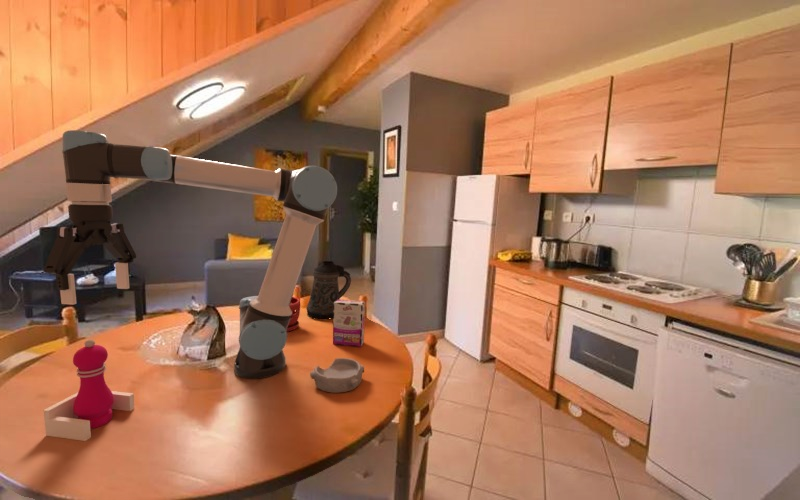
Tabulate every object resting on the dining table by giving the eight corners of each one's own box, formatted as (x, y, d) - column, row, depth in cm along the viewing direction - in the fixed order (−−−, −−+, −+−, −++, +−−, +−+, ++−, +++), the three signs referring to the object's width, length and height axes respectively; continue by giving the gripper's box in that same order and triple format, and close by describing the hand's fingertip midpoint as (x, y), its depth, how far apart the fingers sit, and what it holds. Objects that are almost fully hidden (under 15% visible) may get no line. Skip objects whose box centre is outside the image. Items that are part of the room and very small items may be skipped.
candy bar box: (364, 342, 138) (365, 300, 135) (361, 347, 133) (362, 304, 130) (336, 339, 139) (337, 298, 137) (332, 344, 134) (333, 302, 132)
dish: (305, 388, 103) (305, 372, 102) (330, 368, 115) (330, 353, 115) (350, 400, 98) (350, 383, 97) (371, 377, 111) (371, 362, 110)
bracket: (134, 408, 89) (133, 385, 88) (85, 441, 77) (83, 415, 76) (99, 404, 90) (98, 381, 89) (45, 435, 78) (43, 410, 77)
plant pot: (276, 321, 155) (276, 294, 154) (304, 324, 153) (305, 297, 152) (260, 332, 142) (260, 303, 141) (291, 335, 141) (291, 306, 139)
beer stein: (299, 313, 167) (299, 261, 164) (331, 305, 182) (333, 257, 179) (321, 322, 157) (322, 266, 153) (354, 313, 171) (355, 262, 168)
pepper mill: (91, 433, 79) (85, 348, 77) (65, 428, 81) (58, 343, 78) (122, 415, 86) (118, 336, 84) (98, 410, 88) (93, 332, 85)
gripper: (122, 202, 93) (128, 282, 96) (10, 203, 68) (23, 310, 71) (149, 203, 92) (154, 284, 95) (46, 204, 67) (57, 313, 70)
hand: (98, 295), depth 83 cm, fingers open, 13 cm apart
